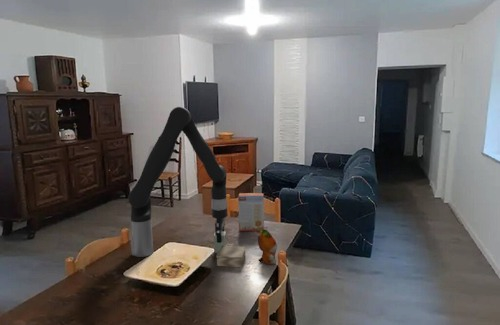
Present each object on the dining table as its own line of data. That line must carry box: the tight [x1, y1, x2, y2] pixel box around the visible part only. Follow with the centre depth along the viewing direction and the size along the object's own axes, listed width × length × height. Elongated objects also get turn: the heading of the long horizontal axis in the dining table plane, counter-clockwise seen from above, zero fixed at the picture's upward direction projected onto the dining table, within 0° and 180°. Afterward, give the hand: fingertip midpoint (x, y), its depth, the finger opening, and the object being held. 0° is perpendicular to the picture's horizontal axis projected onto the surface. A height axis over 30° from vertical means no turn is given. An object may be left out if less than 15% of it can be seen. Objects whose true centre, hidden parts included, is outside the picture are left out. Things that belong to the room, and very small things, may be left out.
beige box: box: [216, 245, 247, 268], centre depth 167 cm, size 11×11×5 cm
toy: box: [257, 228, 278, 265], centre depth 166 cm, size 11×9×15 cm
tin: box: [213, 230, 227, 254], centre depth 178 cm, size 5×5×9 cm
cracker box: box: [237, 192, 265, 232], centre depth 205 cm, size 14×6×21 cm, turn 84°
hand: (220, 238), depth 178 cm, fingers open, 8 cm apart
